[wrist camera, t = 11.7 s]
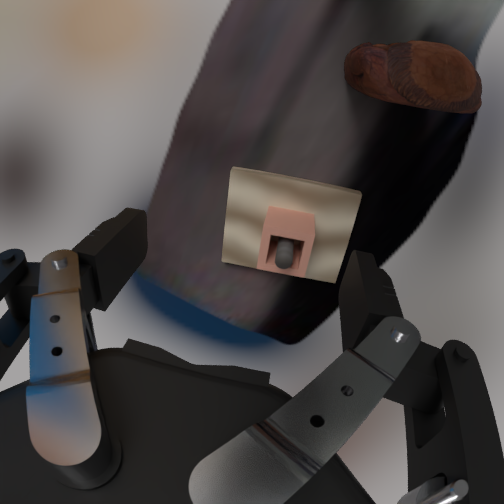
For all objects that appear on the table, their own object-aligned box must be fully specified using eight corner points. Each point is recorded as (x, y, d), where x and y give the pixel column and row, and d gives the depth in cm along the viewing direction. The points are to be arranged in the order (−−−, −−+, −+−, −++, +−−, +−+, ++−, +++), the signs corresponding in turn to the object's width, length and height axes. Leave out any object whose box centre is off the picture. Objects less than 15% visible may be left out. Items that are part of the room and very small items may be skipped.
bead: (268, 205, 42) (263, 225, 36) (314, 214, 41) (315, 235, 36) (262, 245, 45) (256, 268, 40) (304, 253, 44) (304, 277, 39)
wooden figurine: (429, 57, 29) (507, 51, 14) (429, 104, 32) (506, 127, 17) (338, 46, 31) (366, 18, 16) (340, 95, 34) (368, 105, 19)
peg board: (233, 166, 41) (214, 190, 33) (360, 191, 40) (373, 221, 32) (223, 256, 48) (207, 294, 40) (334, 277, 47) (338, 319, 39)
